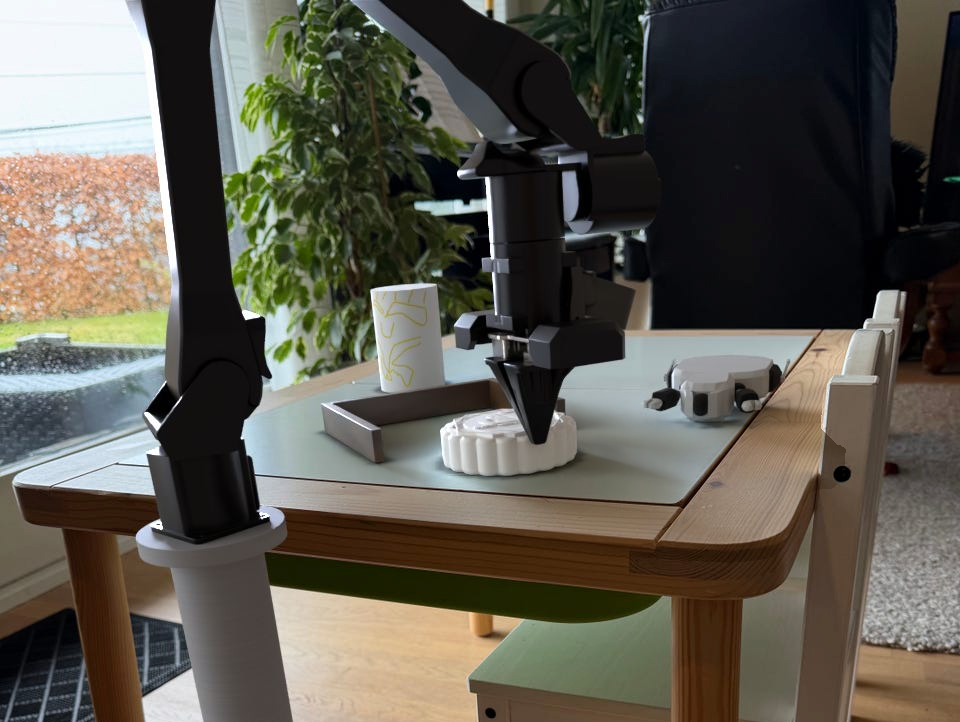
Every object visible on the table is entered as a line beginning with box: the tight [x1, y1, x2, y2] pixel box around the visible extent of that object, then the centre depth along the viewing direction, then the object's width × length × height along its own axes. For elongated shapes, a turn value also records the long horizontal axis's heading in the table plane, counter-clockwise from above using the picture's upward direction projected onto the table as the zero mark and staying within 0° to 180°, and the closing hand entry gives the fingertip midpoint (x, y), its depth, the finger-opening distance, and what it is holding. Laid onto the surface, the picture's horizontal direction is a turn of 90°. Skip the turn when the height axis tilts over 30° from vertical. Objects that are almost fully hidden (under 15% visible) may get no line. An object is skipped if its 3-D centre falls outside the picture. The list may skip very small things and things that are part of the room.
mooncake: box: [440, 409, 578, 477], centre depth 87 cm, size 12×12×4 cm
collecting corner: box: [320, 377, 567, 464], centre depth 100 cm, size 16×20×3 cm
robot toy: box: [642, 354, 791, 423], centre depth 99 cm, size 12×4×15 cm
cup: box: [370, 283, 446, 394], centre depth 122 cm, size 8×8×12 cm
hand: (538, 443), depth 81 cm, fingers closed
